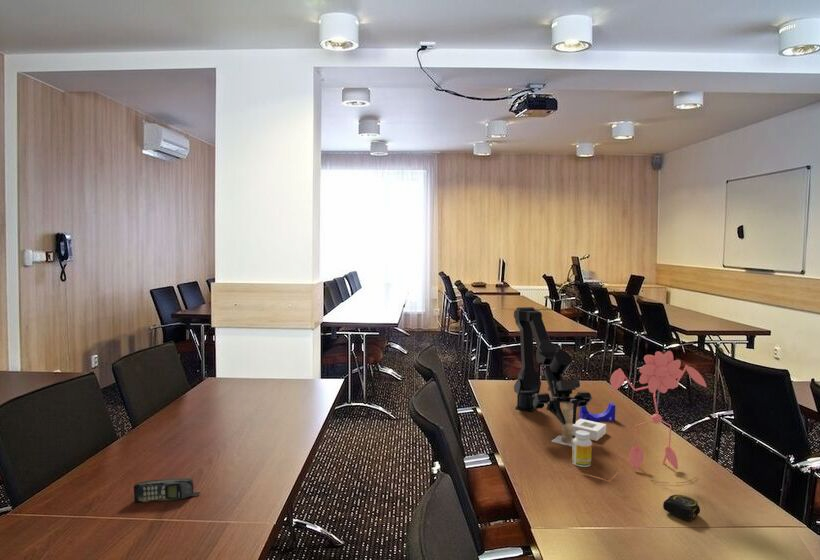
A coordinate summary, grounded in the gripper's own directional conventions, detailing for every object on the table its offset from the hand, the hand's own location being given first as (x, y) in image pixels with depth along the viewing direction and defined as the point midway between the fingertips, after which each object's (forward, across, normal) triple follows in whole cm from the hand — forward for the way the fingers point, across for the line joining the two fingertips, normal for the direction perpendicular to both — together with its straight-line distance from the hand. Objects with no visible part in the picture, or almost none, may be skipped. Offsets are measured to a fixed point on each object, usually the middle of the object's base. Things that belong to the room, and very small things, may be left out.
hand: (569, 423), depth 174 cm
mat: (+4, 0, +6) cm, 7 cm away
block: (0, +10, +9) cm, 14 cm away
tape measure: (+38, +7, -28) cm, 48 cm away
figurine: (+22, +15, -12) cm, 29 cm away
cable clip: (-10, +21, +20) cm, 30 cm away
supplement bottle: (+16, -3, -6) cm, 17 cm away
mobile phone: (+20, -117, -10) cm, 119 cm away
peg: (+3, 0, +5) cm, 6 cm away
